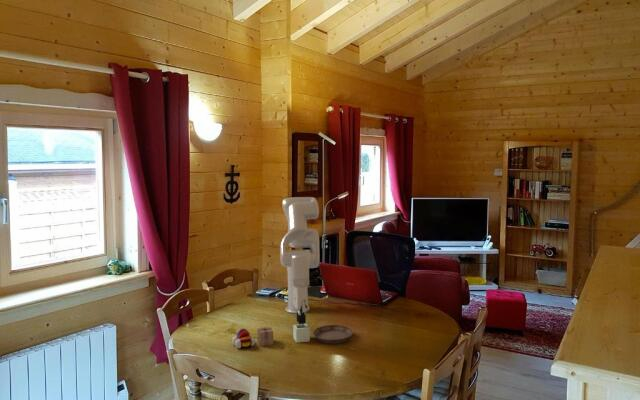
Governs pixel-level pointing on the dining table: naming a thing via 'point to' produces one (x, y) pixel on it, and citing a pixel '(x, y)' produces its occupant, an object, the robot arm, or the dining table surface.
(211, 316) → the dining table surface
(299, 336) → the wide bore block
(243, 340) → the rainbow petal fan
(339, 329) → the plant saucer
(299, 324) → the cylinder
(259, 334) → the narrow block
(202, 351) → the dining table surface
